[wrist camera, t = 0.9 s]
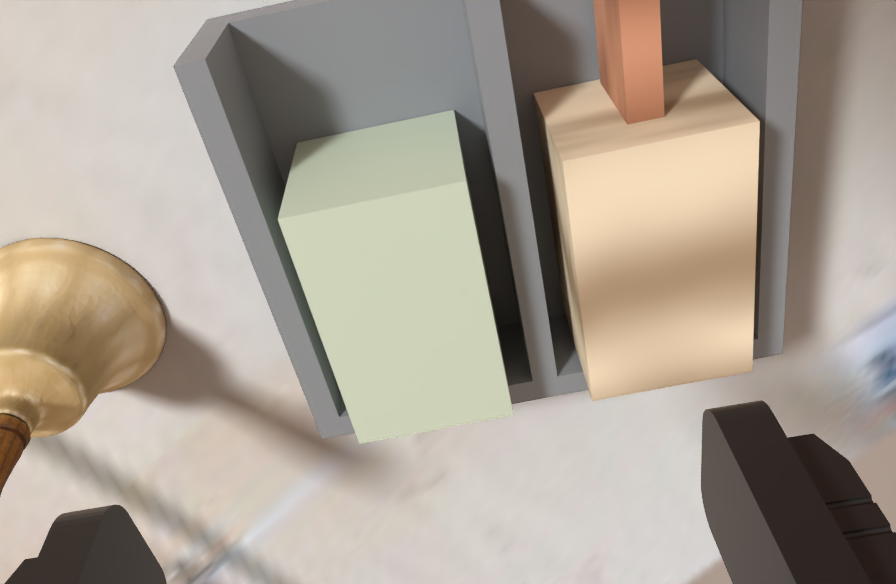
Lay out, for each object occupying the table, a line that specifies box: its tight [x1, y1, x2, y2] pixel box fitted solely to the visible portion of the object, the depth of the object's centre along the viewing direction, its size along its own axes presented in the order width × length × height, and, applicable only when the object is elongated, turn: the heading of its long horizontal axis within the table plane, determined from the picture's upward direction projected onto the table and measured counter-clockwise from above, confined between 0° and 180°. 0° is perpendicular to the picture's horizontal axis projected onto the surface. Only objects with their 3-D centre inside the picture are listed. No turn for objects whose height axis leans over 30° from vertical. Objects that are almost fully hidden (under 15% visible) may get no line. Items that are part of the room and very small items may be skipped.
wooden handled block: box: [534, 0, 760, 401], centre depth 26 cm, size 21×6×6 cm, turn 11°
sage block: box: [278, 110, 513, 444], centre depth 30 cm, size 10×6×6 cm, turn 11°
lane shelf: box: [173, 0, 803, 439], centre depth 30 cm, size 16×19×5 cm
